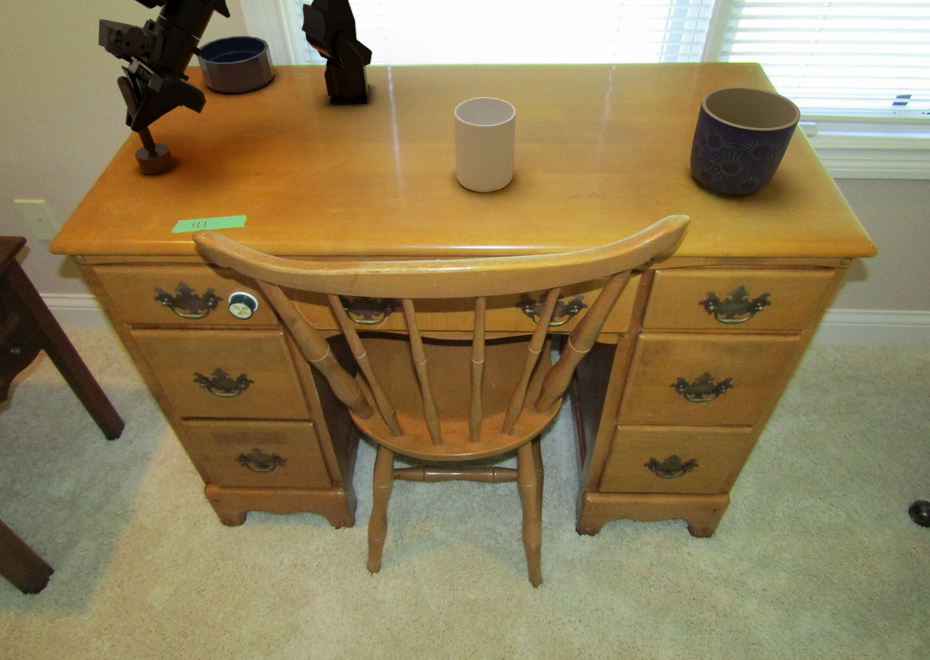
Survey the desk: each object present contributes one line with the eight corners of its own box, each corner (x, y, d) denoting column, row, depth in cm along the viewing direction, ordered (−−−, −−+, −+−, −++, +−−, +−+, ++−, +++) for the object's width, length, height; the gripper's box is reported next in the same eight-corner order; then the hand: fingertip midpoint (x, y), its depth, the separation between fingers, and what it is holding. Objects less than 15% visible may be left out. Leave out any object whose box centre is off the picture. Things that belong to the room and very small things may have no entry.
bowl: (280, 64, 121) (273, 34, 117) (268, 93, 112) (260, 62, 108) (215, 66, 121) (206, 36, 117) (198, 95, 112) (187, 64, 108)
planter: (695, 204, 87) (717, 130, 79) (674, 157, 95) (691, 86, 88) (785, 202, 87) (816, 128, 79) (756, 155, 95) (781, 85, 88)
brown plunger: (178, 157, 97) (144, 68, 87) (169, 174, 94) (133, 83, 84) (146, 158, 97) (109, 69, 87) (136, 175, 94) (96, 84, 84)
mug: (453, 151, 97) (451, 86, 90) (506, 149, 98) (508, 84, 90) (457, 195, 89) (456, 127, 82) (516, 192, 89) (519, 124, 82)
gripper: (96, -24, 85) (50, 80, 88) (150, 12, 75) (96, 128, 78) (172, 22, 95) (128, 115, 98) (229, 59, 85) (178, 162, 88)
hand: (131, 128), depth 90 cm, fingers closed on brown plunger
